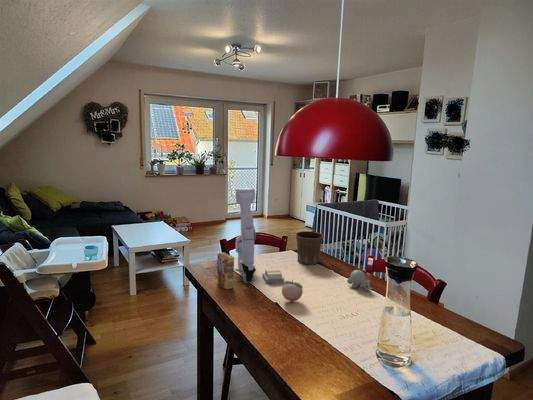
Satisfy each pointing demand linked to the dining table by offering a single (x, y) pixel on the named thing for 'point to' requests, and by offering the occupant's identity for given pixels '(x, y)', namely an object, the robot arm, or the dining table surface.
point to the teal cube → (245, 278)
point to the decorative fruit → (292, 290)
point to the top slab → (273, 273)
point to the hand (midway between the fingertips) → (247, 278)
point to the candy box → (225, 270)
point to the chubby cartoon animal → (359, 280)
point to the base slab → (269, 281)
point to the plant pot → (308, 246)
